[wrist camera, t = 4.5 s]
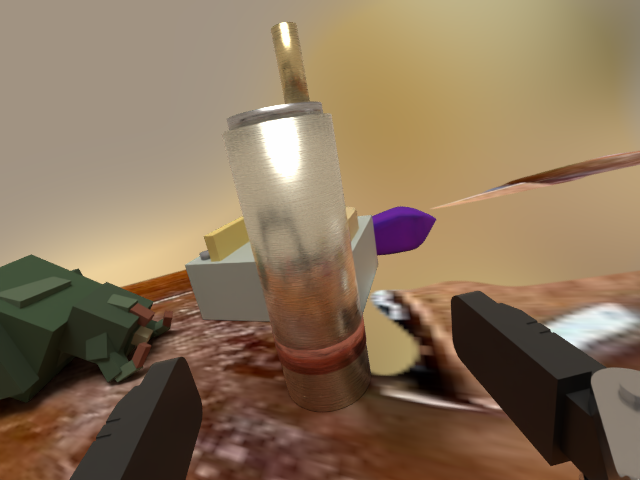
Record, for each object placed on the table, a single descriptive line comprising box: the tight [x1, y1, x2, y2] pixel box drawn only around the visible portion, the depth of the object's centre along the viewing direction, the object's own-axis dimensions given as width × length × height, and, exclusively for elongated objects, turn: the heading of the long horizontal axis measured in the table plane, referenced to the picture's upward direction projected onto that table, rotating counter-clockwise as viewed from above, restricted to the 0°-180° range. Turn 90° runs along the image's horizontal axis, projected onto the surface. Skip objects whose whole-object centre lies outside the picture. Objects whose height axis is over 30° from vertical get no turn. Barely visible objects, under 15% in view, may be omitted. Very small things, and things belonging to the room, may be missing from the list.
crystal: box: [372, 207, 436, 255], centre depth 40 cm, size 5×5×15 cm
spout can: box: [222, 22, 371, 412], centre depth 18 cm, size 6×6×20 cm
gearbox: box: [185, 206, 378, 321], centre depth 33 cm, size 20×12×8 cm, turn 72°
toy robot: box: [0, 255, 173, 403], centre depth 25 cm, size 12×18×12 cm
